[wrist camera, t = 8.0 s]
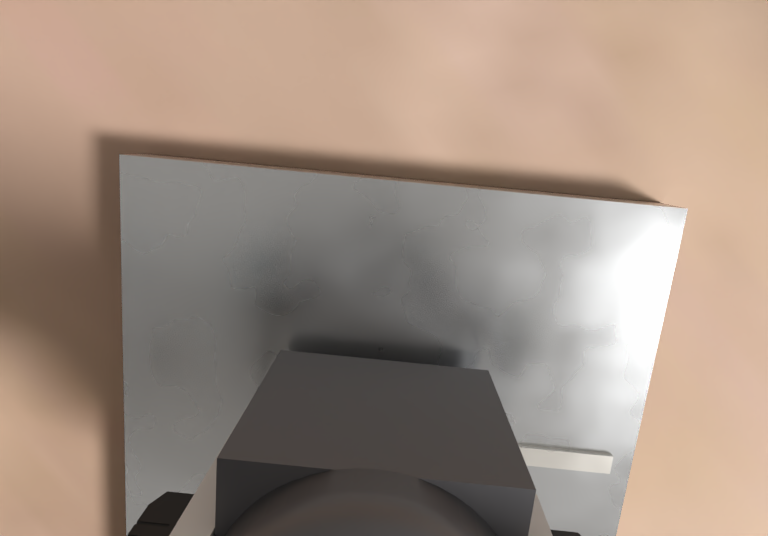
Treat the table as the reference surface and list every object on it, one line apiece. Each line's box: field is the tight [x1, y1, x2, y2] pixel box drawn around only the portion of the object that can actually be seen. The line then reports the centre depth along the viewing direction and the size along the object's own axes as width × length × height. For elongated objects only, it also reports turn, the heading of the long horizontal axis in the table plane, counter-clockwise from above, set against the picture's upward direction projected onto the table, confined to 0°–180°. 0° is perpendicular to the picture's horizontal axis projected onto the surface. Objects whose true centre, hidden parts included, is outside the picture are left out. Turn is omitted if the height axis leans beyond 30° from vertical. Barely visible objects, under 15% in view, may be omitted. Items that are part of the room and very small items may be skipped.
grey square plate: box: [119, 154, 688, 536], centre depth 15 cm, size 16×16×6 cm
